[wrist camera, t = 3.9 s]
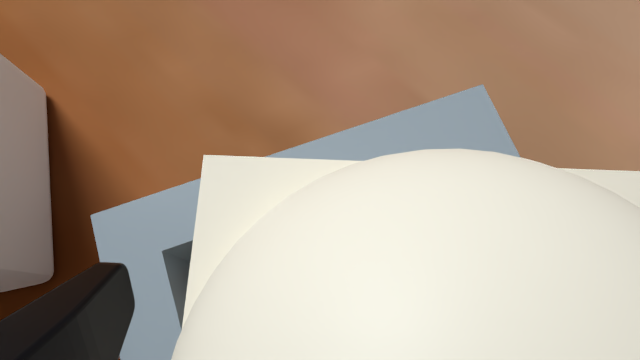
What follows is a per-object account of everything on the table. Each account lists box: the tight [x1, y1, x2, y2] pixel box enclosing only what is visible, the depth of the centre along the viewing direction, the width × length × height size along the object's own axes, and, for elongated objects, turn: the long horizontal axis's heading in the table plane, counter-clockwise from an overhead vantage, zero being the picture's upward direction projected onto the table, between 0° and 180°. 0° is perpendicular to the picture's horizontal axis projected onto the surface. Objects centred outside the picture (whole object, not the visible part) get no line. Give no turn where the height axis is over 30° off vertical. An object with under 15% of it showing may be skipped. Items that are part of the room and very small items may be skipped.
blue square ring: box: [90, 84, 521, 360], centre depth 12 cm, size 11×11×4 cm
